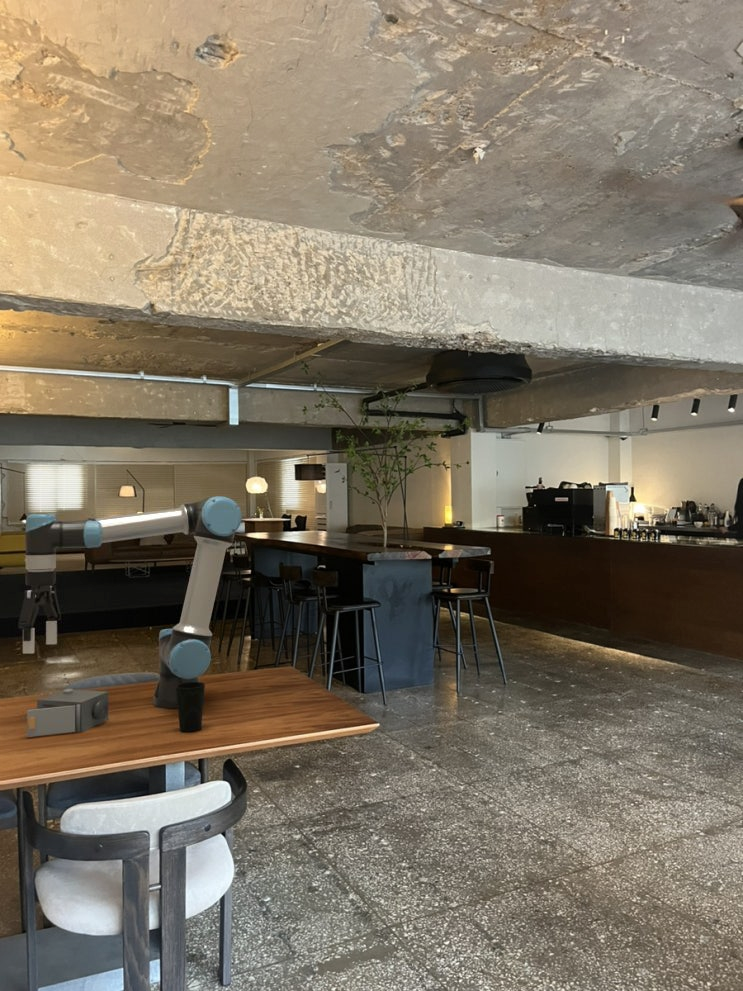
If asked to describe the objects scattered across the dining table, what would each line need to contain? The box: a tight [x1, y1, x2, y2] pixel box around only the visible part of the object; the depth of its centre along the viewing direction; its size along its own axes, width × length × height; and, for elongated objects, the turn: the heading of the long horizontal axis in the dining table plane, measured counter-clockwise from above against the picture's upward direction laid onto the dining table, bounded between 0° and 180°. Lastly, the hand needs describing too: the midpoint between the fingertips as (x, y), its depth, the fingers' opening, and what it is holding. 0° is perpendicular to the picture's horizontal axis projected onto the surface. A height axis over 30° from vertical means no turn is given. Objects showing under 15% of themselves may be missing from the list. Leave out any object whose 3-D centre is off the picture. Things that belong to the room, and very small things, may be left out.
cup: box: [176, 681, 206, 734], centre depth 195 cm, size 8×8×12 cm
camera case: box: [36, 688, 109, 733], centre depth 201 cm, size 16×13×9 cm
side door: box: [26, 705, 76, 738], centre depth 191 cm, size 12×1×7 cm, turn 111°
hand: (40, 648), depth 196 cm, fingers open, 13 cm apart
